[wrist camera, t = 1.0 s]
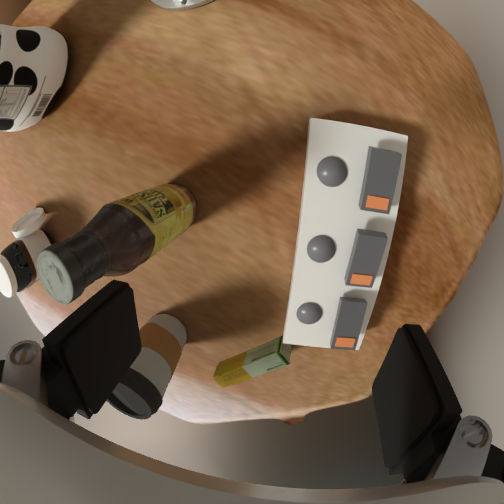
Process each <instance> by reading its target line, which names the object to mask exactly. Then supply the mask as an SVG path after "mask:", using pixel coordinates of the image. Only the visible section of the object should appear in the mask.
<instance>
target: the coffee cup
mask: <svg viewBox="0 0 504 504" xmlns="http://www.w3.org/2000/svg"><path fill="white" fill-rule="evenodd" d="M139 333H140V339H141V344H142V348H141V352H140V354H139V355H138V357H137V358H136V360H135V361H134V362H133V364H132V365H131V366H130V368H129V369H128V371H127V372H126V373H125V375H124V376H123V378H122V379H121V380H120V382H119V383H118V385H117V386H116V387H115V389H114V390H113V392H112V393H111V394H110V396H109V397H108V399H107V400H106V401H108V402H109V403H110V404H111V405H112V406H113V407H114V408H116V409H117V410H119V411H120V412H122V413H124V414H126V415H128V416H130V417H133V418H136V419H148V418H149V417H151V415H152V414H154V413H156V412H157V410H158V409H159V407H160V406H161V404H162V398H163V396H164V393H165V391H166V388H167V386H168V383H169V382H170V380H171V378H172V375H173V373H174V371H175V368H176V366H177V363H178V361H179V358H180V356H181V352H182V350H183V347H184V345H185V343H186V340H187V335H186V329H185V327H184V325H183V324H182V323H181V322H180V321H179V320H178V319H177V318H175V317H173V316H171V315H168V314H158V315H155V316H153V317H152V318H151V319H150V320H149V321H148V322H147V323H146V324H145V325H144V326H143V327H142V328H141V329H140V330H139Z"/></svg>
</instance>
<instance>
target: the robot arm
mask: <svg viewBox="0 0 504 504" xmlns="http://www.w3.org/2000/svg"><path fill="white" fill-rule="evenodd" d="M151 1H152V2H153V3H154V4H156V5H157V6H159V7H161V8H164V9H169V10H185V9H191V8H195V7H199V6H202V5H204V4H207V3H209V2H211V1H213V0H151ZM42 341H43V343H44V347H43V348H42V349H41V347H40V345H39V344H38V343H37V342H35V341H31V340H25V341H21V342H18V343H16V344H15V345H13V346H12V347H11V348H10V349H9V351H8V352H7V355H6V359H5V360H0V504H504V451H502V450H501V449H499V448H497V447H496V446H494V445H492V444H491V442H492V432H491V429H490V427H489V425H488V424H487V423H486V422H485V420H483V419H481V418H480V417H477V416H470V415H469V416H466V417H464V418H463V419H461V416H460V414H461V412H462V409H461V406H460V404H459V402H458V399H457V397H456V395H455V393H454V390H453V388H452V386H451V384H450V382H449V380H448V378H447V375H446V373H445V371H444V369H443V367H442V365H441V363H440V361H439V359H438V357H437V355H436V353H435V351H434V349H433V348H432V346H431V344H430V342H429V340H428V338H427V336H426V335H425V333H424V331H423V329H422V327H421V326H420V325H414V324H404V325H403V326H402V328H399V329H398V330H397V332H396V334H395V337H394V339H393V341H392V344H391V346H390V348H389V351H388V353H387V355H386V357H385V359H384V362H383V364H382V366H381V368H380V370H379V372H378V374H377V376H376V378H375V380H374V382H373V385H372V393H373V398H374V404H375V408H376V414H377V420H378V425H379V431H380V437H381V443H382V451H383V458H384V464H385V466H386V467H389V474H390V475H392V474H400V473H403V474H404V480H403V482H402V483H401V484H400V485H394V486H384V487H373V488H360V489H336V490H335V489H333V490H332V489H330V490H327V489H325V490H324V489H323V490H322V489H297V488H284V487H273V486H265V485H258V484H251V483H245V482H239V481H233V480H228V479H223V478H219V477H214V476H209V475H205V474H202V473H198V472H194V471H190V470H186V469H183V468H180V467H177V466H173V465H170V464H167V463H164V462H161V461H158V460H155V459H153V458H150V457H147V456H144V455H142V454H139V453H136V452H134V451H131V450H129V449H127V448H124V447H122V446H120V445H117V444H115V443H113V442H111V441H109V440H106V439H104V438H102V437H100V436H98V435H96V434H94V433H92V432H90V431H88V430H86V429H84V428H83V427H81V426H79V425H77V424H75V423H74V417H73V416H74V414H75V413H76V411H77V413H78V414H80V415H81V416H83V417H85V418H87V419H90V418H91V416H92V415H93V414H96V413H98V412H99V410H100V409H101V407H102V406H103V404H104V403H105V401H106V400H107V399H108V397H109V396H110V394H111V393H112V392H113V390H114V389H115V387H116V386H117V385H118V383H119V382H120V380H121V379H122V378H123V376H124V375H125V373H126V372H127V371H128V369H129V368H130V366H131V365H132V364H133V362H134V361H135V360H136V358H137V357H138V355H139V354H140V352H141V348H142V344H141V339H140V333H139V327H138V321H137V315H136V308H135V301H134V294H133V290H132V288H130V286H129V284H128V283H126V282H122V281H117V280H113V281H111V282H110V283H108V284H107V285H106V286H105V287H103V288H102V289H101V290H100V291H98V292H97V293H96V294H95V295H94V296H92V297H91V298H90V299H89V300H87V301H86V302H85V303H84V304H83V305H81V306H80V307H79V308H78V309H77V310H75V311H74V312H73V313H72V314H71V315H70V316H68V317H67V318H66V319H65V320H64V321H63V322H61V323H60V324H59V325H58V326H57V327H56V328H55V329H53V330H52V331H51V332H50V333H49V334H48V335H47V336H46V337H44V338H43V339H42Z"/></svg>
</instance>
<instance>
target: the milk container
mask: <svg viewBox="0 0 504 504" xmlns="http://www.w3.org/2000/svg"><path fill="white" fill-rule="evenodd" d="M68 58H69V57H68V46H67V43H66V41H65V39H64V37H63V36H62V35H61V34H60V33H58V32H57V31H55V30H53V29H51V28H48V27H44V26H32V27H24V28H19V27H12V26H7V25H2V24H0V130H2V131H8V132H12V131H19V130H23V129H26V128H28V127H31V126H33V125H35V124H36V123H38V122H39V121H40V120H42V119H43V118H44V116H45V115H46V114H47V113H48V112H49V110H50V109H51V108H52V106H53V104H54V102H55V101H56V99H57V97H58V95H59V93H60V90H61V88H62V85H63V82H64V79H65V76H66V71H67V65H68Z"/></svg>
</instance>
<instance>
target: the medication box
mask: <svg viewBox="0 0 504 504" xmlns="http://www.w3.org/2000/svg"><path fill="white" fill-rule="evenodd" d="M291 349H292V346H291V344H285V343H283V336H281V337H279V338H276V339H274V340H272V341H270V342H267V343H265V344H263V345H260V346H258V347H256V348H253V349H251V350H249V351H246V352H244V353H241V354H239V355H237V356H234V357H232V358H229V359H227V360H224V361H222V362H219V364H218V366H217V368H216V371H215V373H214V376H213V379H214V380H215V381H216V382H217V383H218V384H219V385H220V386H221V387H226V386H229V385H233V384H236V383H239V382H242V381H245V380H248V379H250V378H253V377H256V376H259V375H262V374H264V373H267V372H270V371H272V370H275V369H278V368H280V367H283V366H285V365H288V364H290V355H291Z"/></svg>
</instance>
